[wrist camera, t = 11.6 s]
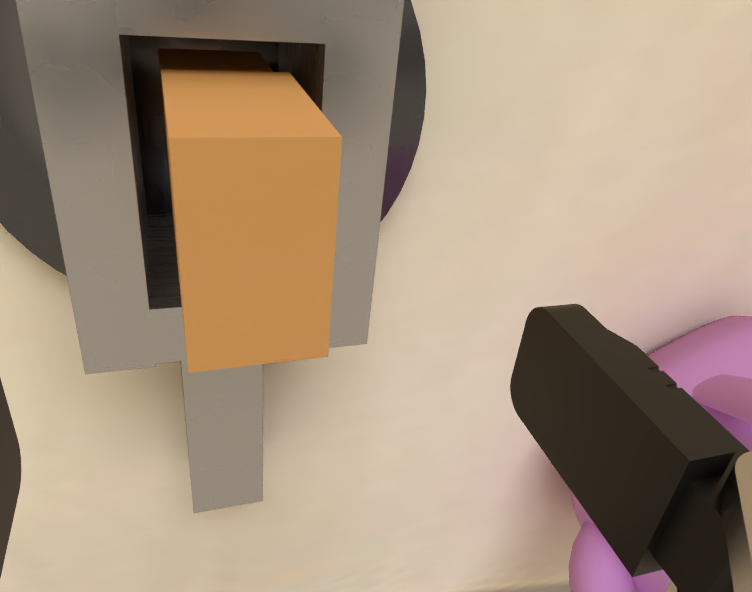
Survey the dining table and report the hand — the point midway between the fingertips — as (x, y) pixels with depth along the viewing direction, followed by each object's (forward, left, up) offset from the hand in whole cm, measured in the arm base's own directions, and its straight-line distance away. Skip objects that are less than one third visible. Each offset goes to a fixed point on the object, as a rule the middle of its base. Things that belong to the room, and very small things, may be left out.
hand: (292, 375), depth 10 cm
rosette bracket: (0, +5, -15) cm, 15 cm away
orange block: (0, 0, -13) cm, 13 cm away
